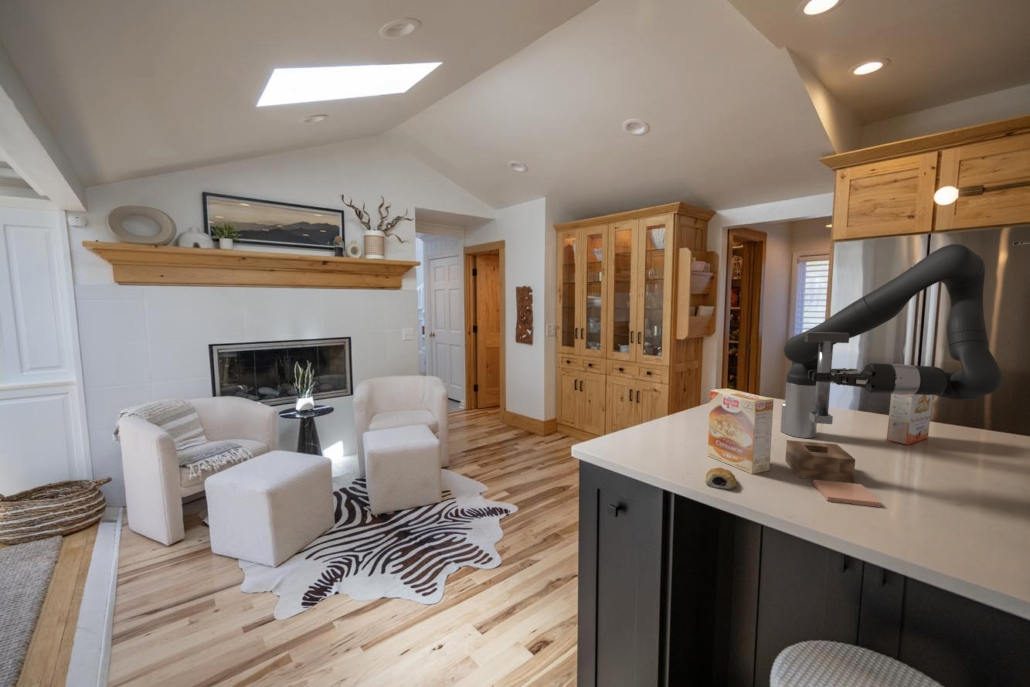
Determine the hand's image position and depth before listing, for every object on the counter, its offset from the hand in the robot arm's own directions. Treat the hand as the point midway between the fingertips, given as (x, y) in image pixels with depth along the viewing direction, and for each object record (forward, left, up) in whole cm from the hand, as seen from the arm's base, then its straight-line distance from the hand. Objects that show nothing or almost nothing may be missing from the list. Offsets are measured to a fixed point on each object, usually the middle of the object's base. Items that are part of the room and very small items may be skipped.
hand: (811, 375), depth 118 cm
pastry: (-5, -27, -26) cm, 37 cm away
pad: (+13, -7, -25) cm, 29 cm away
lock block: (+2, +2, -25) cm, 26 cm away
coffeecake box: (-12, -11, -26) cm, 30 cm away
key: (+2, +2, -12) cm, 12 cm away
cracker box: (+1, +54, -26) cm, 60 cm away
